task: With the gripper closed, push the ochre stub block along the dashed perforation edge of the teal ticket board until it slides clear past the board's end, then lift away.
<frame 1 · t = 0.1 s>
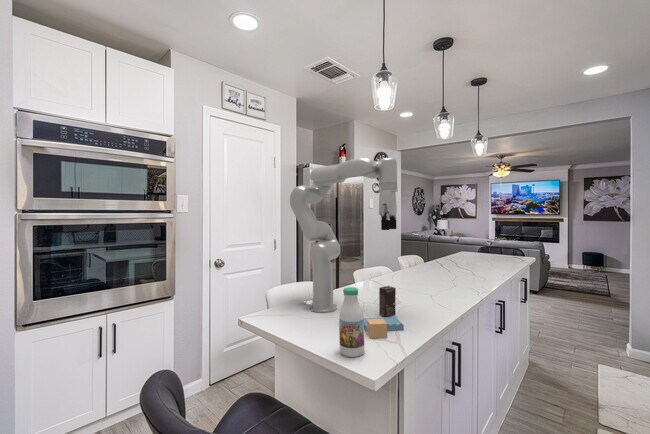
hand: (389, 229, 121), 37 cm above the worktop, tool pointing down, fingers open, 9 cm apart
ticket: (382, 326, 113), on the worktop
stub: (376, 328, 105), point 3 cm above the worktop, slide at 0.0 cm
box: (387, 315, 126), on the worktop
milk bottle: (352, 352, 92), on the worktop
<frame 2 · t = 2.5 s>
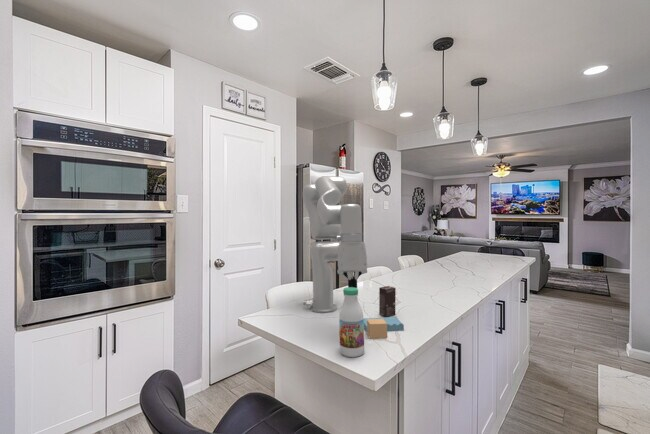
hand: (352, 290, 104), 17 cm above the worktop, tool pointing down, fingers closed
nothing on the worktop moved.
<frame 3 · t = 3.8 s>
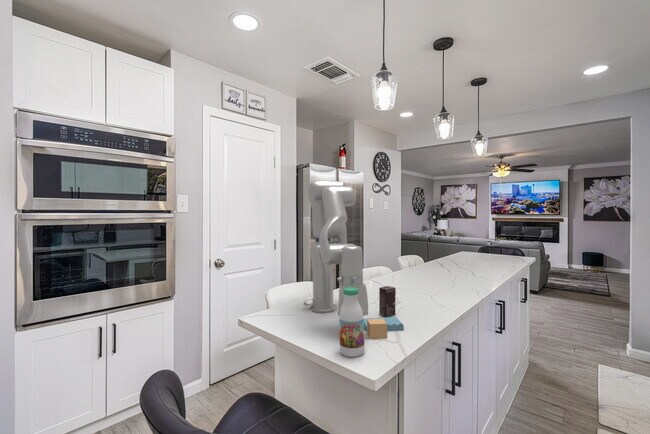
hand: (353, 332, 104), 2 cm above the worktop, tool pointing down, fingers closed
nothing on the worktop moved.
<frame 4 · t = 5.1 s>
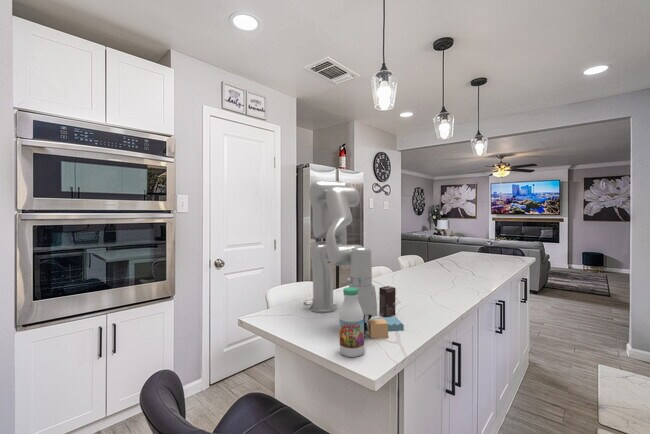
hand: (362, 332, 104), 1 cm above the worktop, tool pointing down, fingers closed
stub: (377, 328, 105), point 2 cm above the worktop, slide at 0.3 cm, touching gripper
everything else where it was.
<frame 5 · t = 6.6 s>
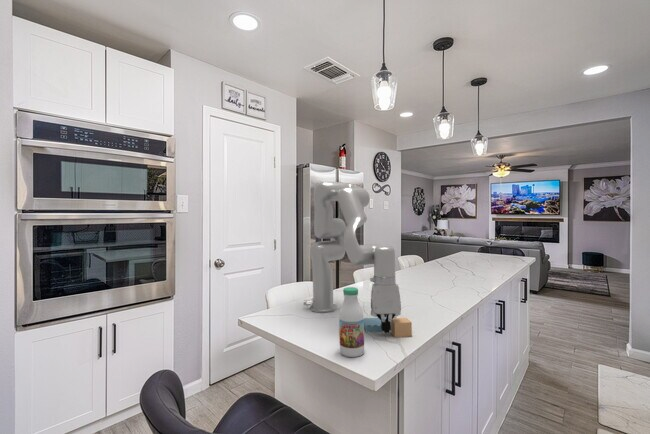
hand: (386, 331, 105), 1 cm above the worktop, tool pointing down, fingers closed
stub: (401, 327, 105), point 3 cm above the worktop, slide at 8.8 cm, touching gripper
everything else where it was.
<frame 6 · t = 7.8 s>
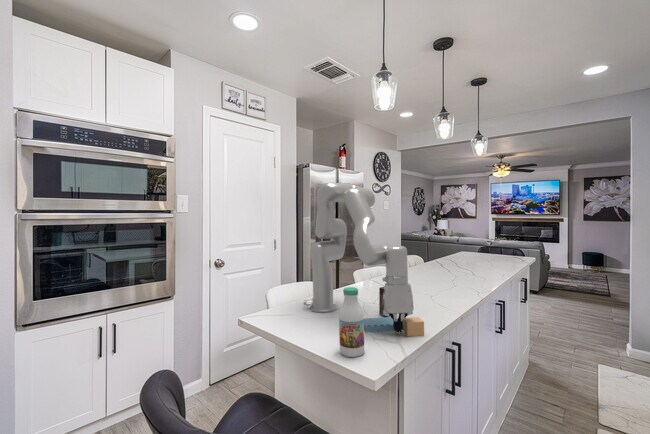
hand: (398, 331, 105), 1 cm above the worktop, tool pointing down, fingers closed
stub: (413, 326, 106), point 2 cm above the worktop, slide at 13.3 cm, touching gripper
everything else where it was.
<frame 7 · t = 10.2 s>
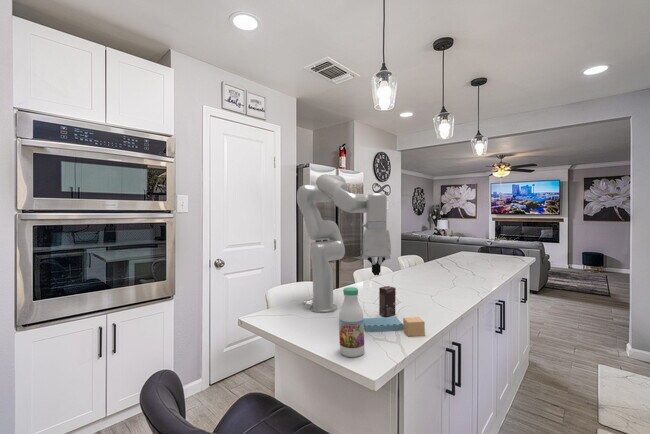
hand: (376, 274, 111), 21 cm above the worktop, tool pointing down, fingers closed
stub: (413, 326, 106), point 3 cm above the worktop, slide at 13.5 cm
everything else where it was.
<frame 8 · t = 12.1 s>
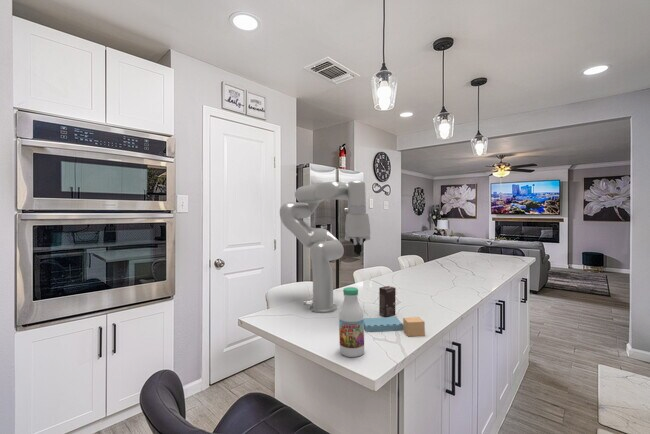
hand: (357, 254, 123), 27 cm above the worktop, tool pointing down, fingers closed
nothing on the worktop moved.
at the end: stub slide at 13.5 cm; stub inside the target area (1.0 cm from its centre), on the worktop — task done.
